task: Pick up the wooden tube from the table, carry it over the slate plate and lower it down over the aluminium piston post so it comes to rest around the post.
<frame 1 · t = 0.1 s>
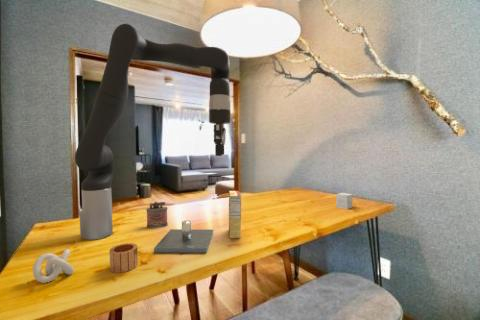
hand: (220, 155, 82), 29 cm above the table, tool pointing down, fingers open, 8 cm apart
wooden tube: (124, 266, 62), on the table
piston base: (186, 242, 78), on the table
candy box: (234, 234, 86), on the table
lighter: (157, 226, 94), on the table
knot: (58, 277, 57), on the table
skincare box: (344, 207, 123), on the table
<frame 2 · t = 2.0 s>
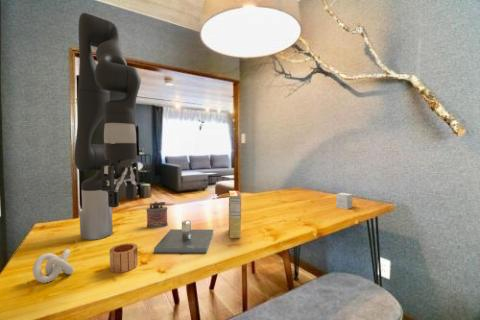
hand: (122, 202, 61), 17 cm above the table, tool pointing down, fingers open, 8 cm apart
nothing on the table moved.
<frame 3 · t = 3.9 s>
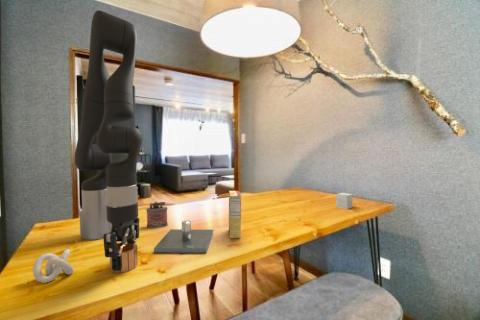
hand: (124, 262, 62), 1 cm above the table, tool pointing down, fingers closed on wooden tube, 6 cm apart
wooden tube: (124, 266, 62), on the table, touching gripper
everything else where it was.
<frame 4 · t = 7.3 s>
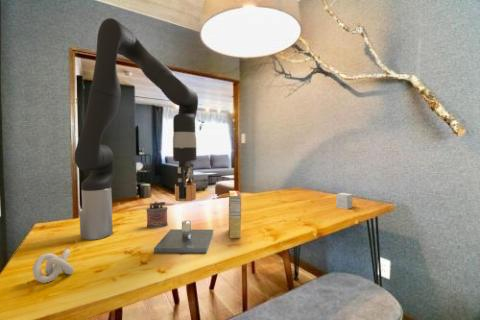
hand: (185, 196, 77), 16 cm above the table, tool pointing down, fingers closed on wooden tube, 6 cm apart
wooden tube: (185, 199, 77), point 15 cm above the table, touching gripper
everything else where it was.
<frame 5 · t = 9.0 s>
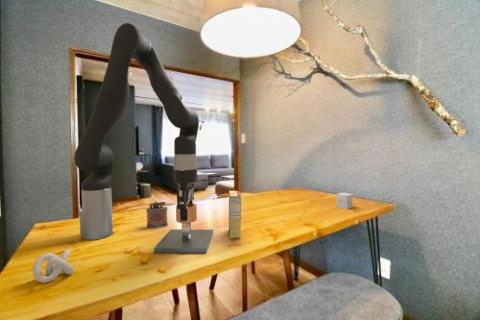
hand: (186, 217, 78), 9 cm above the table, tool pointing down, fingers closed on wooden tube, 6 cm apart
wooden tube: (186, 219, 78), point 8 cm above the table, touching gripper
everything else where it was.
when the fingers open (4 cm above the table, at t = 10.6 s): wooden tube drops 2 cm, resting on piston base.
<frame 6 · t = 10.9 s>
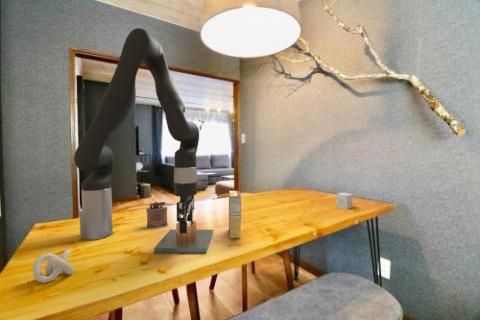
hand: (186, 228, 78), 5 cm above the table, tool pointing down, fingers open, 8 cm apart
wooden tube: (186, 237, 78), point 1 cm above the table, touching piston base
everything else where it was.
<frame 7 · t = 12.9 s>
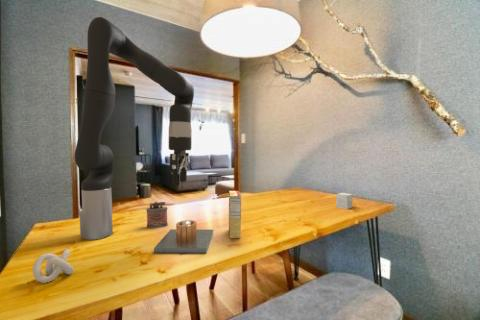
hand: (179, 183, 79), 20 cm above the table, tool pointing down, fingers open, 8 cm apart
nothing on the table moved.
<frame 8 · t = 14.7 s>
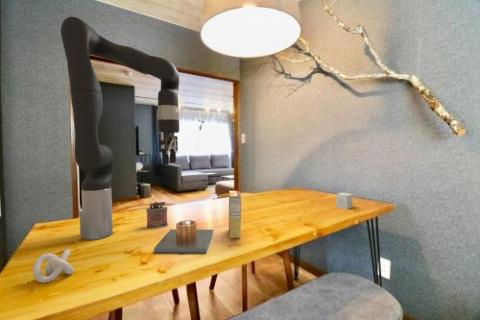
hand: (169, 163, 85), 26 cm above the table, tool pointing down, fingers open, 8 cm apart
nothing on the table moved.
at the end: wooden tube 0.0 cm off-centre on the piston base, point 1.5 cm above the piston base's base; the gripper is holding nothing; wooden tube tilted 0° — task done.
